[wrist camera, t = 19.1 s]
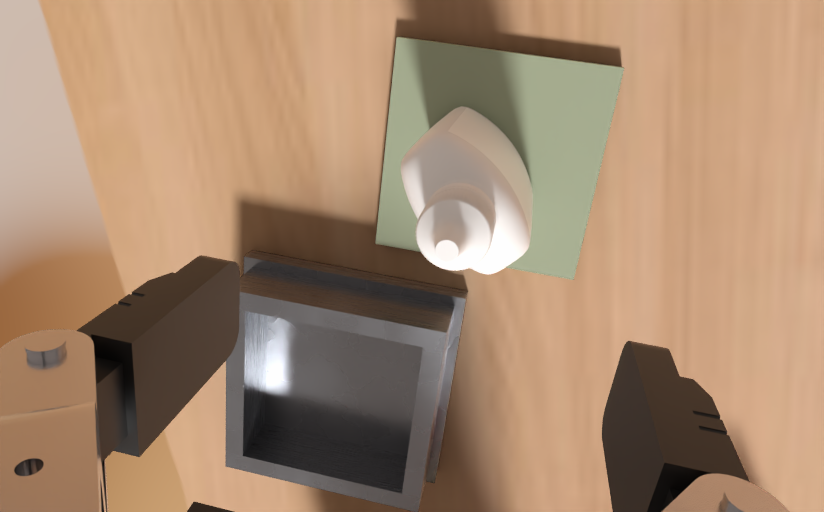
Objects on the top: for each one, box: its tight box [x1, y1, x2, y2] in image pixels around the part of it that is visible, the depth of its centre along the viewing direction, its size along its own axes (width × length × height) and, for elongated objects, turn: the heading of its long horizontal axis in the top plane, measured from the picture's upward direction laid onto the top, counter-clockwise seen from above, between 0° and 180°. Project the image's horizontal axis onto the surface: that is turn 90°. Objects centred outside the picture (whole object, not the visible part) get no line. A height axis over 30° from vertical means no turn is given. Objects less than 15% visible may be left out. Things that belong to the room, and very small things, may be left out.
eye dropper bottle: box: [401, 106, 533, 274], centre depth 23 cm, size 4×6×12 cm
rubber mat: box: [375, 37, 624, 280], centre depth 29 cm, size 10×10×1 cm
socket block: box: [226, 250, 468, 512], centre depth 33 cm, size 12×12×4 cm
